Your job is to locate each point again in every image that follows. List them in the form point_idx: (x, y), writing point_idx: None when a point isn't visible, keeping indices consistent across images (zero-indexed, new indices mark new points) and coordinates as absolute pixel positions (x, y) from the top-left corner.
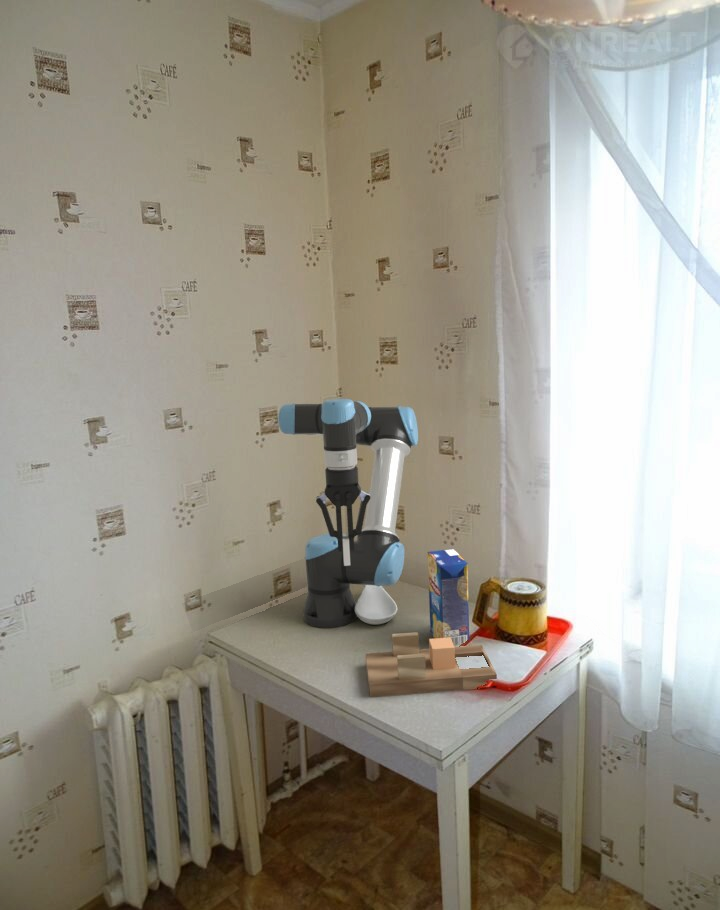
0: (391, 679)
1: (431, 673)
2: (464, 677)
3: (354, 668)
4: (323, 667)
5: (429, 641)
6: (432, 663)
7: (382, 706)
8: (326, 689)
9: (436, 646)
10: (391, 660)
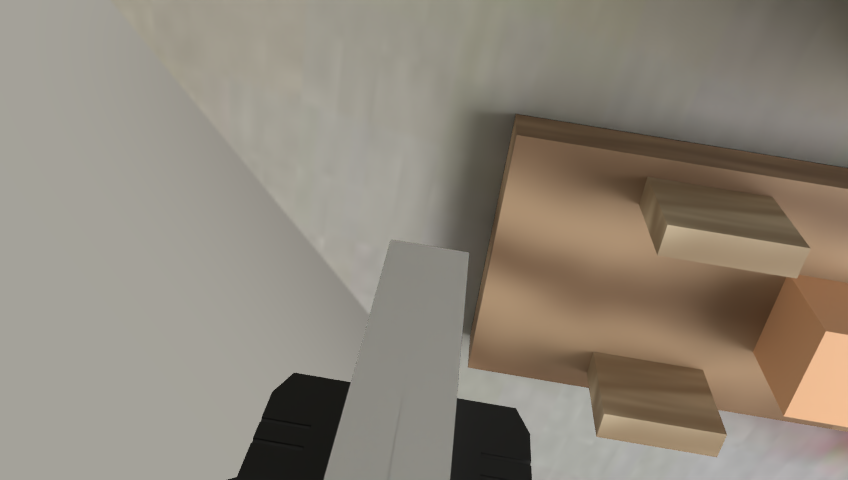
0: (560, 362)
1: (730, 373)
2: (836, 429)
3: (457, 122)
4: (319, 68)
5: (818, 335)
6: (764, 352)
7: (496, 392)
8: (317, 241)
9: (815, 401)
10: (615, 232)
